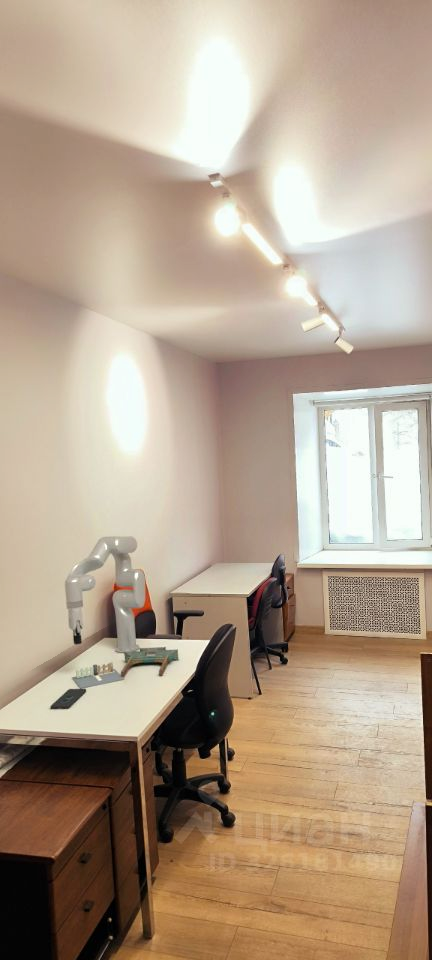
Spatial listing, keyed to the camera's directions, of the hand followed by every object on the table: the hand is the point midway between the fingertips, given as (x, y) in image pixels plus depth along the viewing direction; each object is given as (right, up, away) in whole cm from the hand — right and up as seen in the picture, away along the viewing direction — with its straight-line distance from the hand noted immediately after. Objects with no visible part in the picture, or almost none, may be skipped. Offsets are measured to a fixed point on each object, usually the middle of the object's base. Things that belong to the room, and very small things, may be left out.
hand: (77, 643), depth 294 cm
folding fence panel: (+4, -14, -5) cm, 15 cm away
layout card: (+11, -14, -7) cm, 19 cm away
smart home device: (+3, -16, -31) cm, 35 cm away
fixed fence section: (+12, -14, -1) cm, 18 cm away
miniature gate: (+32, -13, +6) cm, 35 cm away
